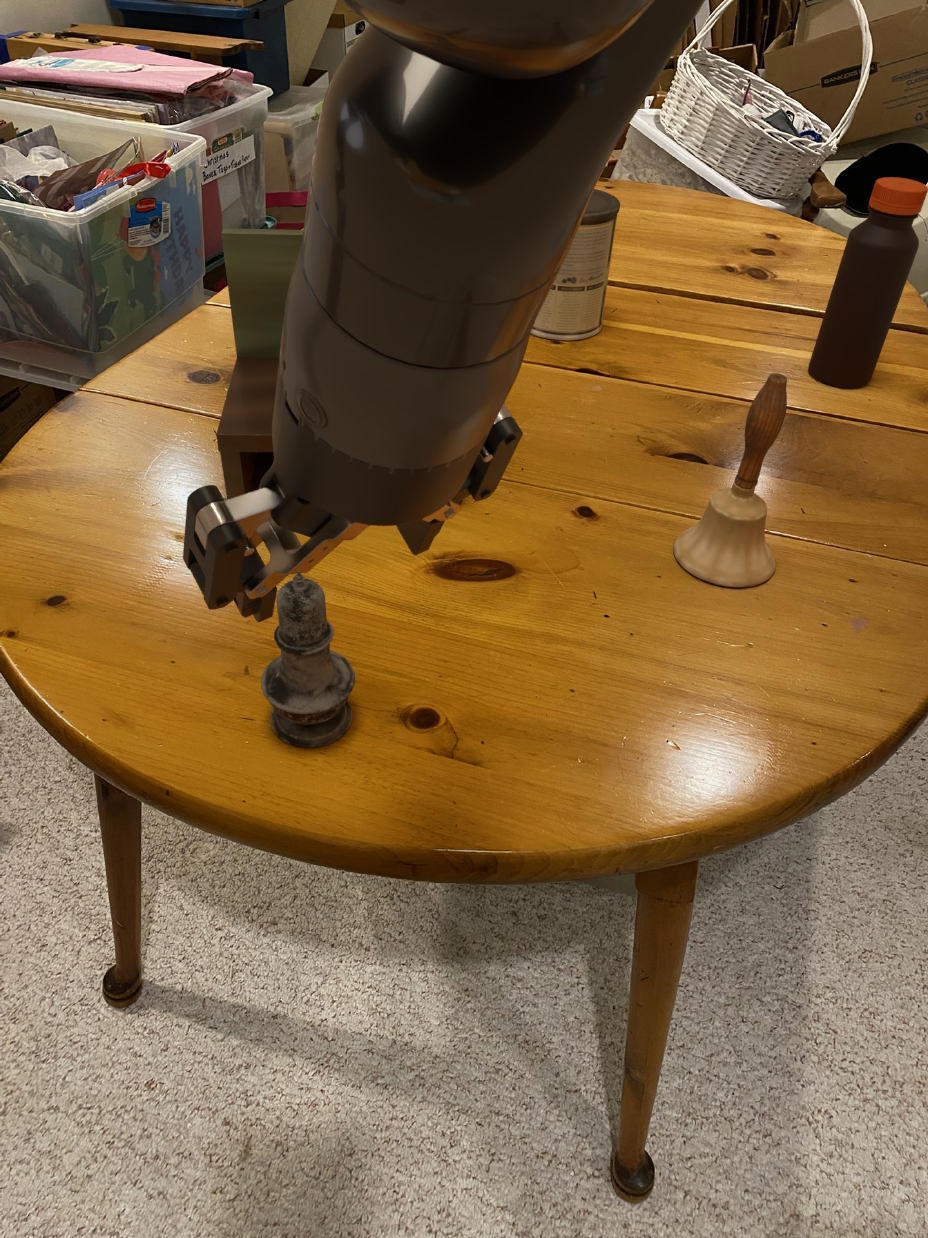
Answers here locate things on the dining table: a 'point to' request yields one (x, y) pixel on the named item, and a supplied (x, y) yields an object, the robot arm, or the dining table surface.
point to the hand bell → (739, 507)
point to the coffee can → (582, 276)
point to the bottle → (868, 285)
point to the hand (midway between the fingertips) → (334, 569)
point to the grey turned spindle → (307, 671)
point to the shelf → (254, 344)
